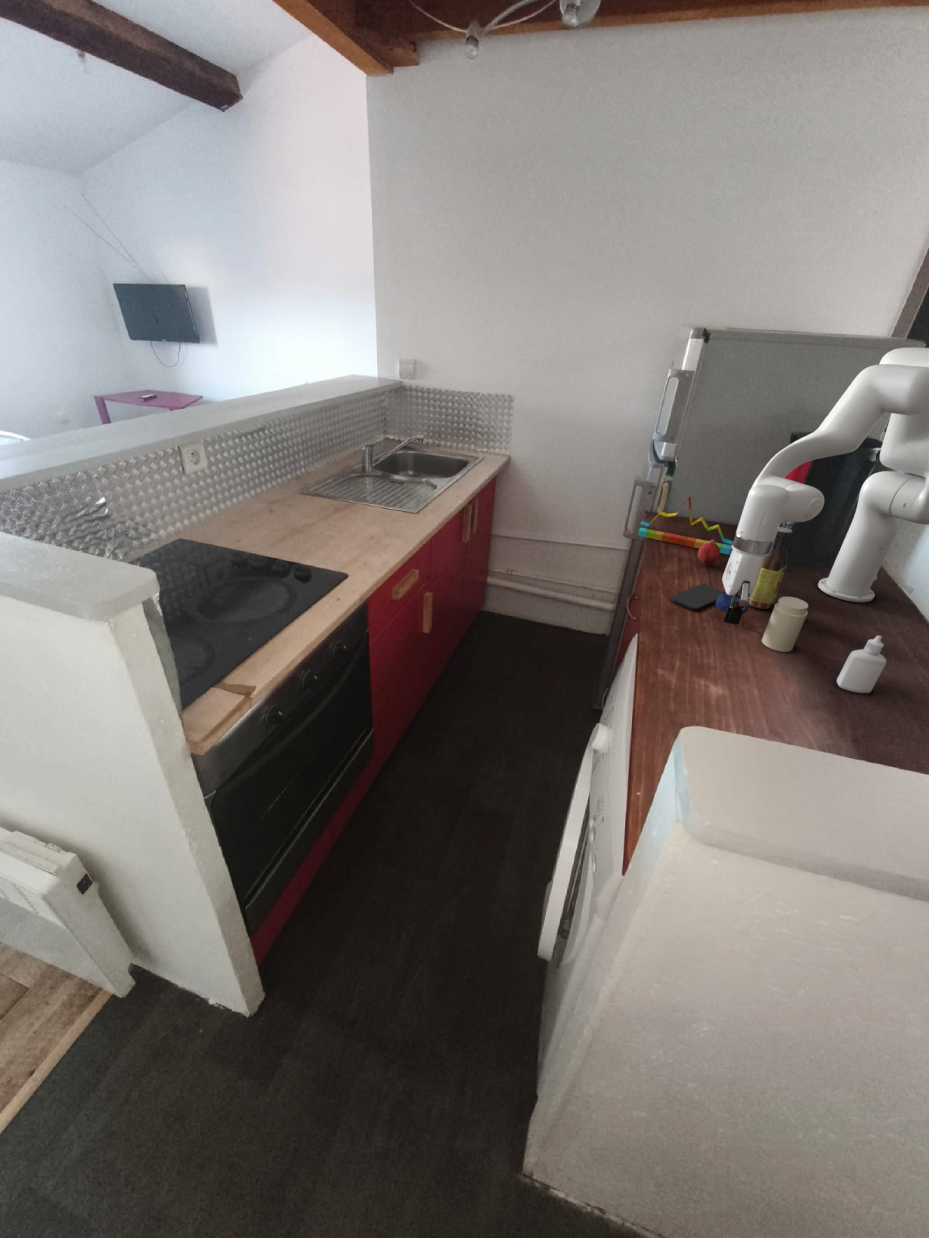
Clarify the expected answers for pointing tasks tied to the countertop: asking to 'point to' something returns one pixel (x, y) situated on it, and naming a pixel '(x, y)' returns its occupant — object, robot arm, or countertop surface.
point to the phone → (697, 597)
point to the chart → (682, 539)
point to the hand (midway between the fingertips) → (728, 614)
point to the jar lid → (727, 602)
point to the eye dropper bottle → (863, 668)
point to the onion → (709, 552)
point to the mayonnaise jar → (785, 624)
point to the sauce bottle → (771, 572)
